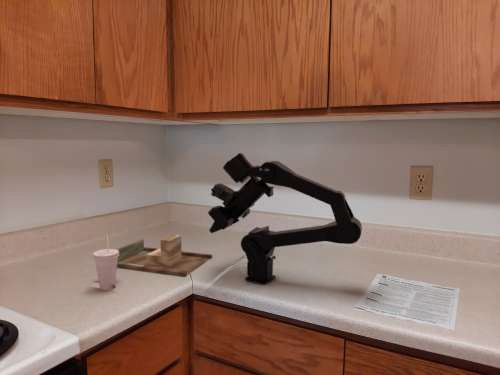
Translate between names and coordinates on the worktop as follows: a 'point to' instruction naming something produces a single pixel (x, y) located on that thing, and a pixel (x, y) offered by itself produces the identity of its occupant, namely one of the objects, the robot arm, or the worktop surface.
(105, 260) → the smoothie
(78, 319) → the worktop surface
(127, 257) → the brown wooden tray
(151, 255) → the step block
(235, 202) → the robot arm
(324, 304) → the worktop surface
